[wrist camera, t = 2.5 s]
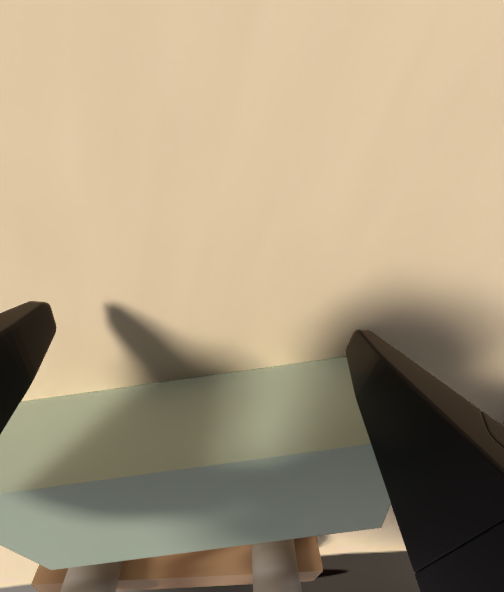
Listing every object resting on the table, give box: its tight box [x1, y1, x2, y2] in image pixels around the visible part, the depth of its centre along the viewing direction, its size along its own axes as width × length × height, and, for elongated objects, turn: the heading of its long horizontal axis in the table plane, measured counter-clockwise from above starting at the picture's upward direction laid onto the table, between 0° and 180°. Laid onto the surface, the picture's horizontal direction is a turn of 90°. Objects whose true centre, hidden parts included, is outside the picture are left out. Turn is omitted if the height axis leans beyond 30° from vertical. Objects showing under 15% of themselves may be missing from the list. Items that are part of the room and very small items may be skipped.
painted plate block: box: [0, 356, 391, 570], centre depth 13 cm, size 16×8×4 cm, turn 97°
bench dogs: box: [31, 536, 323, 592], centre depth 19 cm, size 20×6×6 cm, turn 81°
